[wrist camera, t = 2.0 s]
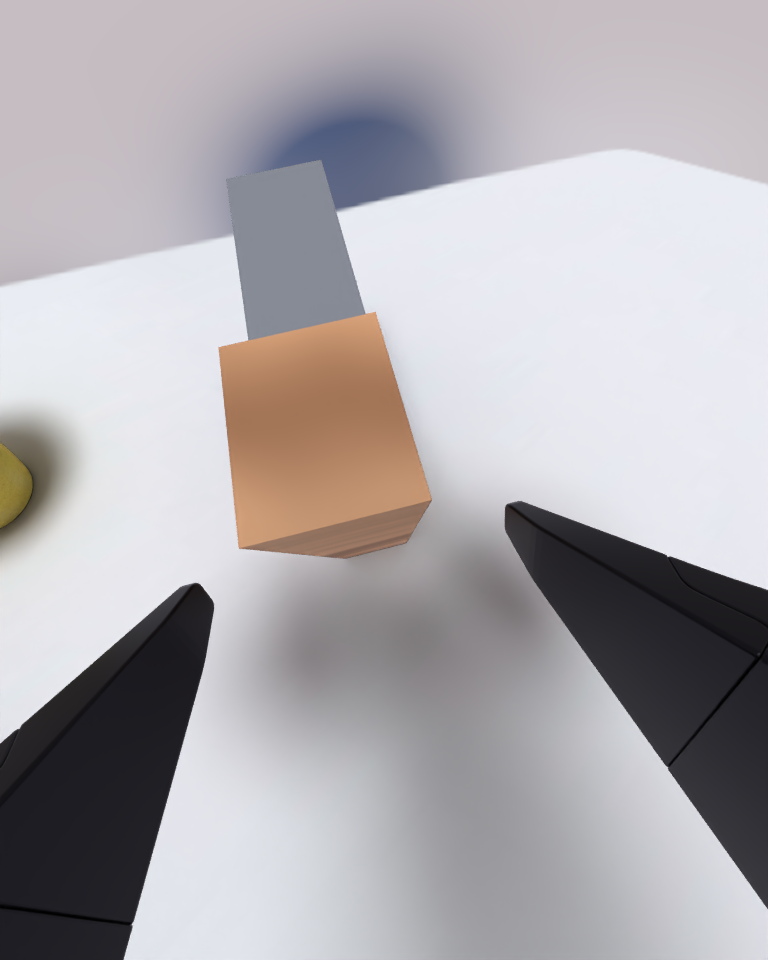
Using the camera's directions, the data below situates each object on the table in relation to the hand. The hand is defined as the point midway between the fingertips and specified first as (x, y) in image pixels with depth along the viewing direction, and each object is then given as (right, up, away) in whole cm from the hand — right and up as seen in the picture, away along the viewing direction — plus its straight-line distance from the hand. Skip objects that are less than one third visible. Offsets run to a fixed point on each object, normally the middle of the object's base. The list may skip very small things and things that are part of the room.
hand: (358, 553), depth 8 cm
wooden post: (0, 0, +11) cm, 11 cm away
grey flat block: (-2, +7, +13) cm, 15 cm away
